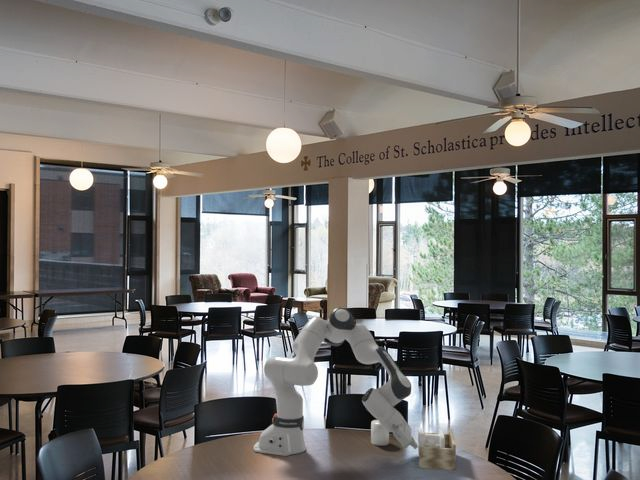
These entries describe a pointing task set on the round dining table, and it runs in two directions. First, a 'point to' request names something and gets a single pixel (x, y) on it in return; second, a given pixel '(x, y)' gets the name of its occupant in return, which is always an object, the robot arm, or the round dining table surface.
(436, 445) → the cable organizer
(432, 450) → the bracket
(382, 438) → the mug
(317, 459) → the round dining table surface
